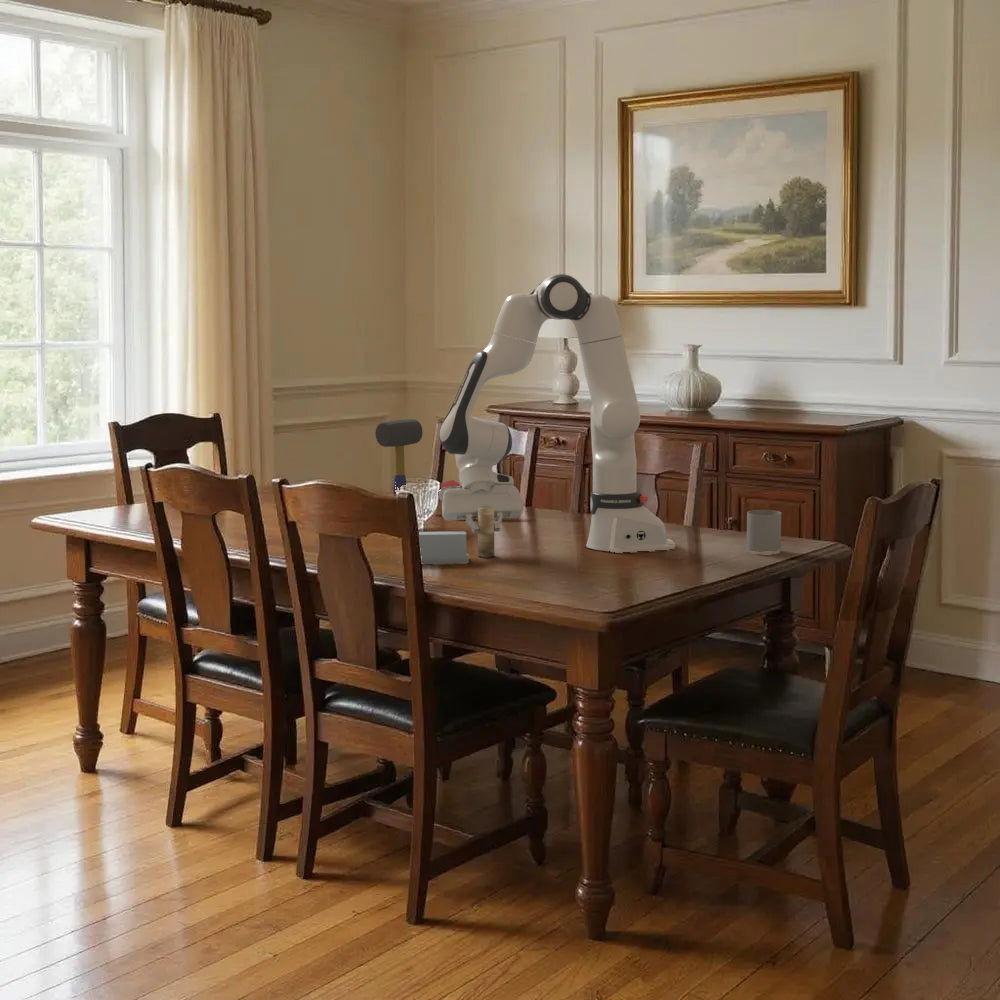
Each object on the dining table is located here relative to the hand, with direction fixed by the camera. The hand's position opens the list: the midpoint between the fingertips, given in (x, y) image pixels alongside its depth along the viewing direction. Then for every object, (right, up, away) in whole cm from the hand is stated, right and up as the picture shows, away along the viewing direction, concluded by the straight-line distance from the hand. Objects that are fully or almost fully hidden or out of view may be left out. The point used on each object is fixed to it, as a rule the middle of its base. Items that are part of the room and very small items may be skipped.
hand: (486, 530), depth 341 cm
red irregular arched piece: (-6, +2, +61) cm, 61 cm away
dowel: (0, -6, +2) cm, 6 cm away
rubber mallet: (-24, 0, +45) cm, 51 cm away
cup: (+69, -6, +5) cm, 69 cm away
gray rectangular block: (-12, -7, -5) cm, 15 cm away
